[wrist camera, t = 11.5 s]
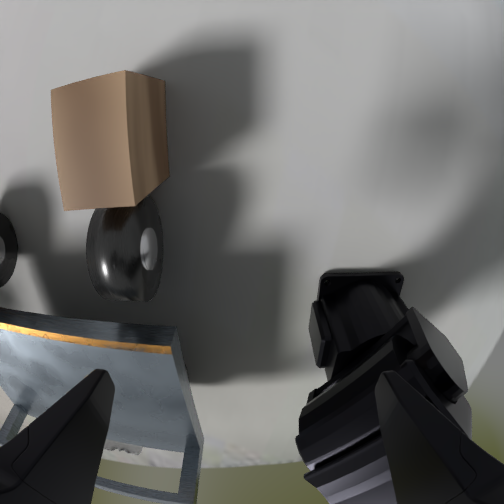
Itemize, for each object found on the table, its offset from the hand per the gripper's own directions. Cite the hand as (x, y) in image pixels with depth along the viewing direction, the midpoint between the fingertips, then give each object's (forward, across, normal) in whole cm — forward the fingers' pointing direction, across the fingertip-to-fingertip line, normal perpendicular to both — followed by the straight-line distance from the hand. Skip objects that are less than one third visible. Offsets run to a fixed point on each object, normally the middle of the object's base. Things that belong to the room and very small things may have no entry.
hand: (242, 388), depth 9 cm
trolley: (+12, +14, +6) cm, 19 cm away
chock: (+12, +7, -7) cm, 16 cm away
